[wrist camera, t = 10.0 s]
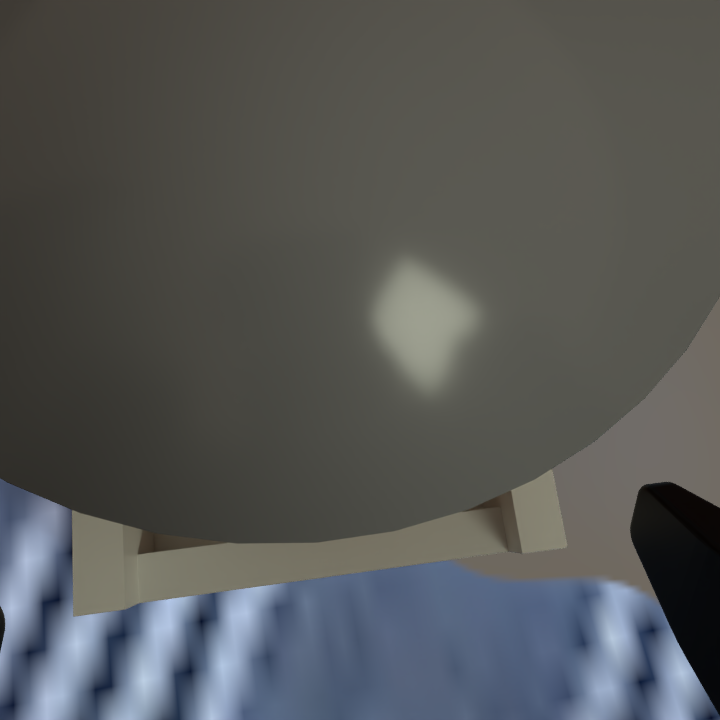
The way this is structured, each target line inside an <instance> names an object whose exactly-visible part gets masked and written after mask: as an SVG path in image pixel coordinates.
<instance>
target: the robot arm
mask: <svg viewBox="0 0 720 720" xmlns="http://www.w3.org/2000/svg"><path fill="white" fill-rule="evenodd" d="M630 533H631V538H632V542H633V545H634V547H635V549H636V551H637V554H638V556H639V558H640V560H641V562H642V564H643V567H644V569H645V571H646V574H647V576H648V578H649V580H650V582H651V585H652V587H653V589H654V591H655V594H656V596H657V598H658V600H659V603H660V605H661V607H662V609H663V612H664V614H665V616H666V618H667V621H668V623H669V625H670V627H671V629H672V631H673V633H674V635H675V637H676V640H677V642H678V643H679V645H680V647H681V649H682V651H683V653H684V654H685V656H686V658H687V660H688V662H689V663H690V665H691V667H692V669H693V670H694V672H695V674H696V676H697V677H698V679H699V681H700V683H701V684H702V686H703V688H704V689H705V691H706V693H707V695H708V696H709V698H710V700H711V702H712V703H713V705H714V707H715V709H716V710H717V712H718V714H719V716H720V508H719V507H717V506H715V505H713V504H712V503H710V502H708V501H706V500H704V499H702V498H700V497H699V496H696V495H695V494H693V493H691V492H689V491H687V490H686V489H684V488H682V487H680V486H678V485H676V484H674V483H671V482H661V483H653V484H646V485H644V486H642V487H641V489H640V490H639V492H638V496H637V500H636V504H635V509H634V513H633V517H632V522H631V527H630ZM4 631H5V618H4V613H3V611H2V609H1V607H0V651H1V646H2V641H3V637H4Z"/></svg>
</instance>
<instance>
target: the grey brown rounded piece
mask: <svg viewBox="0 0 720 720" xmlns="http://www.w3.org/2000/svg"><path fill="white" fill-rule="evenodd" d="M719 297H720V0H0V478H1V479H3V480H4V481H6V482H8V483H10V484H13V485H15V486H17V487H20V488H22V489H24V490H27V491H29V492H31V493H34V494H36V495H39V496H41V497H43V498H46V499H48V500H50V501H53V502H55V503H57V504H60V505H62V506H64V507H67V508H69V509H72V510H74V511H76V512H79V513H82V514H85V515H89V516H93V517H97V518H100V519H104V520H108V521H112V522H115V523H119V524H123V525H127V526H130V527H134V528H138V529H141V530H145V531H149V532H153V533H156V534H164V535H172V536H180V537H188V538H196V539H204V540H212V541H220V542H228V543H236V544H247V543H318V542H325V541H332V540H338V539H345V538H352V537H359V536H365V535H372V534H379V533H386V532H392V531H397V530H400V529H404V528H407V527H410V526H414V525H417V524H421V523H424V522H428V521H431V520H434V519H438V518H441V517H445V516H448V515H452V514H455V513H458V512H462V511H465V510H468V509H471V508H473V507H475V506H477V505H479V504H482V503H484V502H486V501H488V500H490V499H493V498H495V497H497V496H499V495H502V494H504V493H506V492H508V491H511V490H513V489H515V488H517V487H519V486H522V485H524V484H526V483H528V482H531V481H533V480H535V479H536V478H538V477H540V476H541V475H543V474H544V473H546V472H547V471H549V470H551V469H552V468H554V467H555V466H557V465H558V464H560V463H562V462H563V461H565V460H566V459H568V458H569V457H571V456H573V455H574V454H576V453H577V452H579V451H581V450H582V449H584V448H585V447H587V446H588V445H590V444H591V443H593V442H595V441H596V440H597V439H598V438H599V437H600V436H602V435H603V434H604V433H605V432H606V431H607V430H609V429H610V428H611V427H612V426H613V425H614V424H616V423H617V422H618V421H619V420H620V419H621V418H622V417H624V416H625V415H626V414H627V413H628V412H629V411H631V410H632V409H633V408H634V407H635V406H636V405H638V404H639V403H640V402H641V401H642V400H643V399H645V398H646V396H647V395H648V394H649V393H650V392H651V391H652V389H653V388H654V387H655V386H656V385H657V383H658V382H659V381H660V380H661V379H662V378H663V377H664V375H665V374H666V373H667V372H668V371H669V370H670V368H671V367H672V366H673V365H674V364H675V363H676V361H677V360H678V359H679V358H680V357H681V356H682V355H683V353H684V352H685V351H686V350H687V348H688V347H689V345H690V343H691V342H692V340H693V339H694V337H695V336H696V334H697V332H698V331H699V329H700V328H701V326H702V324H703V323H704V321H705V320H706V318H707V316H708V315H709V313H710V312H711V310H712V308H713V307H714V305H715V303H716V302H717V300H718V299H719Z"/></svg>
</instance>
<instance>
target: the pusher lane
mask: <svg viewBox="0 0 720 720" xmlns="http://www.w3.org/2000/svg"><path fill="white" fill-rule="evenodd" d="M72 546H73V617H74V616H81V615H88V614H96V613H103V612H110V611H117V610H124V609H127V608H129V607H132V606H134V605H136V604H138V603H143V602H150V601H157V600H164V599H172V598H179V597H186V596H193V595H200V594H208V593H215V592H222V591H229V590H236V589H244V588H251V587H258V586H265V585H272V584H280V583H287V582H294V581H301V580H308V579H316V578H323V577H330V576H337V575H344V574H351V573H359V572H366V571H373V570H380V569H387V568H395V567H402V566H409V565H416V564H423V563H431V562H438V561H445V560H452V559H459V558H466V557H474V556H480V555H488V554H495V553H503V552H515V553H520V554H525V553H532V552H539V551H546V550H554V549H561V548H567V547H568V546H567V541H566V536H565V531H564V526H563V521H562V516H561V511H560V506H559V501H558V495H557V490H556V485H555V481H554V475H553V471H552V469H551V470H549V471H547V472H546V473H544V474H543V475H541V476H540V477H538V478H536V479H535V480H533V481H531V482H528V483H526V484H524V485H522V486H519V487H517V488H515V489H513V490H511V491H508V492H506V493H504V494H502V495H499V496H497V497H495V498H493V499H490V500H488V501H486V502H484V503H482V504H479V505H477V506H475V507H473V508H471V509H468V510H465V511H462V512H458V513H455V514H452V515H448V516H445V517H441V518H438V519H434V520H431V521H428V522H424V523H421V524H417V525H414V526H410V527H407V528H404V529H400V530H397V531H392V532H386V533H379V534H372V535H365V536H359V537H352V538H345V539H338V540H332V541H325V542H318V543H247V544H236V543H228V542H220V541H212V540H204V539H196V538H188V537H180V536H172V535H164V534H156V533H153V532H149V531H145V530H141V529H138V528H134V527H130V526H127V525H123V524H119V523H115V522H112V521H108V520H104V519H100V518H97V517H93V516H89V515H85V514H82V513H79V512H76V511H74V510H72Z"/></svg>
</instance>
